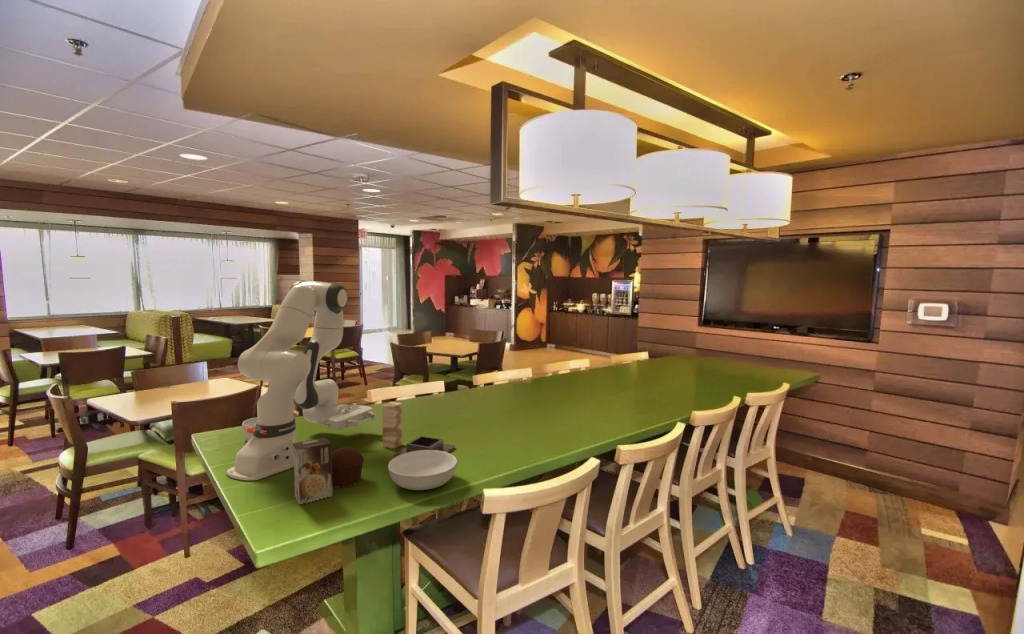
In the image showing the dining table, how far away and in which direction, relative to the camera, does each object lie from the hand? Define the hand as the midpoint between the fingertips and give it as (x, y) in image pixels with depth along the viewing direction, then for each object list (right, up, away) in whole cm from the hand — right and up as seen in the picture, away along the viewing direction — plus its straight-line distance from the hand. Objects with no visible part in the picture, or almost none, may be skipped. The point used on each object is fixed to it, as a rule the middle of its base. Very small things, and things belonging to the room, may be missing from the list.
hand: (367, 420), depth 178 cm
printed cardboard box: (-2, -12, -45) cm, 46 cm away
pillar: (+10, -9, -3) cm, 14 cm away
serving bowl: (+28, -12, -35) cm, 46 cm away
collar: (+24, -10, -10) cm, 28 cm away
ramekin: (-43, -8, +3) cm, 44 cm away
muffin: (+4, -12, -34) cm, 36 cm away
